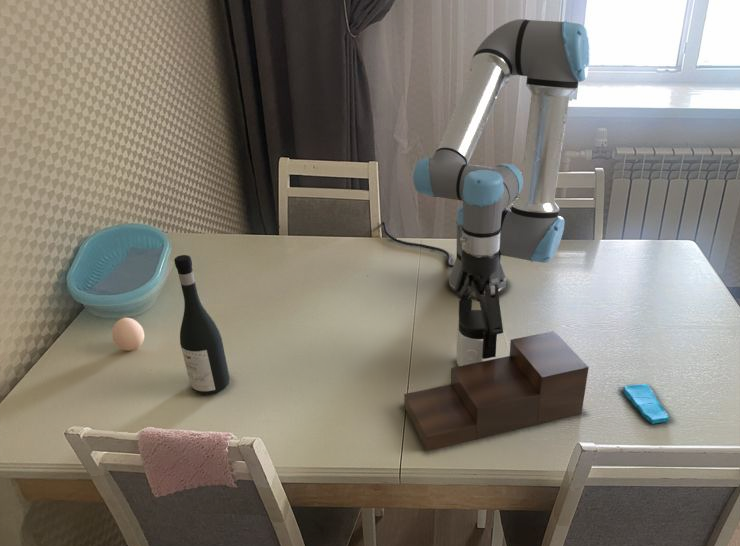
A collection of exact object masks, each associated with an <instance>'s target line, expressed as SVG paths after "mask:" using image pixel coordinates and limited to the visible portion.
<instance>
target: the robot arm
mask: <svg viewBox="0 0 740 546" xmlns="http://www.w3.org/2000/svg"><path fill="white" fill-rule="evenodd" d="M590 50H591V49H590V39H589V33H588V31H587V28H586V27H585V26H584V24H581V23H575V22H569V21H567V20H566V21H558V20H557V21H555V20H553V21H552V20H537V19H536V20H535V19H524V18H523V19H522V18H520V19H514V20H510V21H507V22H506V23H503V24H502V25H500V26H499V27H497V28H495V30H493V31H492V32H491V33H490V34H489V35H487V36H486V38H485V39H483V40H482V42H481V43H480V44H479V46H478V47H477V48H476V50H475V52H474V54H473V55H472V58H471V60H470V63H469V70H470V74H469V76H468V78H467V81H466V83H465V85H464V87H463V89H462V92H461V94H460V96H459V98H458V100H457V103H456V105H455V107H454V110H453V112H452V114H451V117H450V119H449V121H448V124H447V125H446V128H445V129H444V132H443V135H442V136H441V138H440V141H439V144H438V146H437V148H436V150H435V152H434V154H433V156H432V158H431V157H422V158H420V159H419V160H418V161H417V162H416V164H415V166H414V169H413V177H412V178H413V179H412V182H413V186H414V189H415V190H416V192H417V193H419V194H421V195H425V196H430V197H432V198H442V199H449V200H455V201H461V202H462V203H461V204H460V206H459V207H458V209H457V218H456V222H455V223H456V256H455V260H454V263H453V264H452V263H451V254H450V253H449V252H448V251H447V250H445V249H443V248H440V247H436V246H432V245H427V244H423V243H416V242H409V241H404V240H401V239H398V238H396V237H394V236H392V235H391V234H390V232H389V231H388V229H387V222H386V221H382V222H381V225H382V226H383V231H384V233H385V235H386V236H387V237H388V238H389V239H391V240H392V241H394V242H396V243H398V244H402V245H405V246H411V247H419V248H424V249H429V250H433V251H438V252H441V253H443V254H445V255H446V256H447V259H446V260H447V261H446V264H447V266H448V267H449V268H451V271H450V273H449V278H448V286H449V288H450V289H451V290H452V291H453V292H455V293H456V294H457V298H458V299H459V301H458V318H459V317H460V315H461V314H463V313H464V312H467V311H471V310H473V309H472V306H473V299H476V301H477V302H479V307H480V310H481V311H482V316H483V320H484V324H485V329H486V330H484V331H483V352H482V358H483V359H487V358H492V357H496V358H497V353H496V342H497V343H498V337H497V334H498V335H501V334H503V333H504V327H503V320H502V312H501V304H500V297H499V294H501V293H502V292H503V291H505V289H506V287H507V276H506V272H505V270H504V266H503V262H502V256H504V257H509V258H515V259H518V260H519V259H520V260H525V261H528V262H530V263H531V262H532V263H533V262H535V263H543V264H544V263H549V262H550V261H551V260H552V259H553V258H554V257H555V255H556V253H557V251H558V248H559V246H560V244H561V241H562V238H563V234H564V230H565V219H564V217H562V216H560V215H559V214H560V207H559V205H557V203H556V202H555V198H556V190H557V184H558V177H559V171H560V164H561V156H562V152H563V151H562V149H563V143H564V137H565V136H564V135H565V130H566V122H567V116H568V109H569V102H570V97H571V96H572V95H574V93H575V92H576V91H577V90H578V86H579V83H581V82H585V80H586V79H587V77H588V70H589V68H590V55H591V54H590ZM514 76H522V77H526V83H525V86H526V88H528V90H529V91H530V94H531V97H530V103H529V104H530V105H529V114H528V119H527V120H528V122H527V130H526V137H525V138H526V139H525V145H524V153H523V154H524V155H523V160H522V161H523V162H522V170H521V171H520V169H519V168H518V167H517V166H515V165H514V164H512V163H500V164H497V165H495V166H484V165H478V164H477V165H476V164H470V161H471V159H472V156H473V155H474V152H475V149H476V147H477V145H478V142H479V140H480V137H481V135H482V133H483V131H484V129H485V126H486V124H487V122H488V119H489V117H490V115H491V112H492V110H493V108H494V106H495V103H496V101H497V99H498V96H499V93H500V91H501V89H502V87H505V86H506V85H507V84H508V83H509V82H510V79H511V77H514ZM510 205H511V206H510ZM509 206H510V207H511V209H510V208H508V207H509ZM397 239H398V240H397ZM472 298H473V299H472ZM458 326H459V324H458V325H457V327H458Z"/></svg>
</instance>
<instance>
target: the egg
mask: <svg viewBox="0 0 740 546" xmlns="http://www.w3.org/2000/svg"><path fill="white" fill-rule="evenodd" d="M111 335H112V336H111V337H112V341H113V342H114V344H115V346H117V347H118V348H119V349H121V350H123V351H127V352H128V351H129V352H131V351H135V350H138V349H139V348H140V347H141V346H142V345H143V343H144V341H145V331H144V328H143V326H142V325H141V324H140V323H139V322H138V321H137V320H135V319H134V318H131V317H122V318H120V319H118V320H117V321H116V322H115V324H114V325H113V327H112V331H111Z"/></svg>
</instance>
